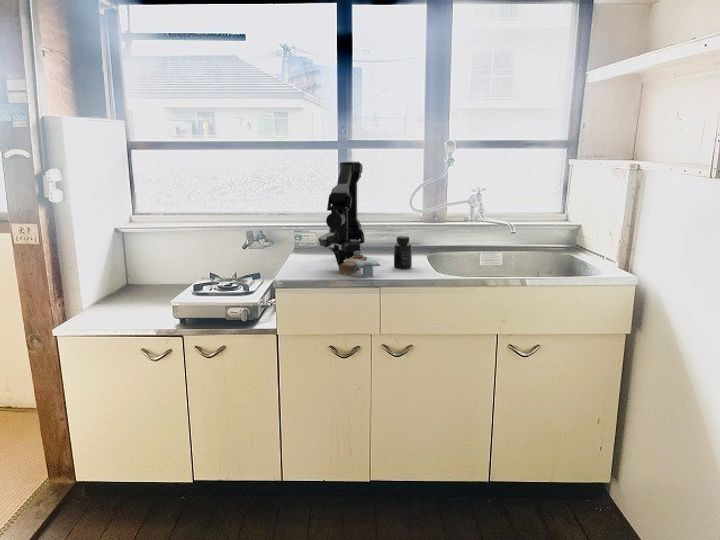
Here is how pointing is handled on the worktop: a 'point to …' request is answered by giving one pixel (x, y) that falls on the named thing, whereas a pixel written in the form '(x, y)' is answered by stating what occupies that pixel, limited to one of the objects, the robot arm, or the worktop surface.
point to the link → (350, 265)
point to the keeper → (367, 266)
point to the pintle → (356, 254)
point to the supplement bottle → (402, 253)
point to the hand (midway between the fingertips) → (340, 266)
